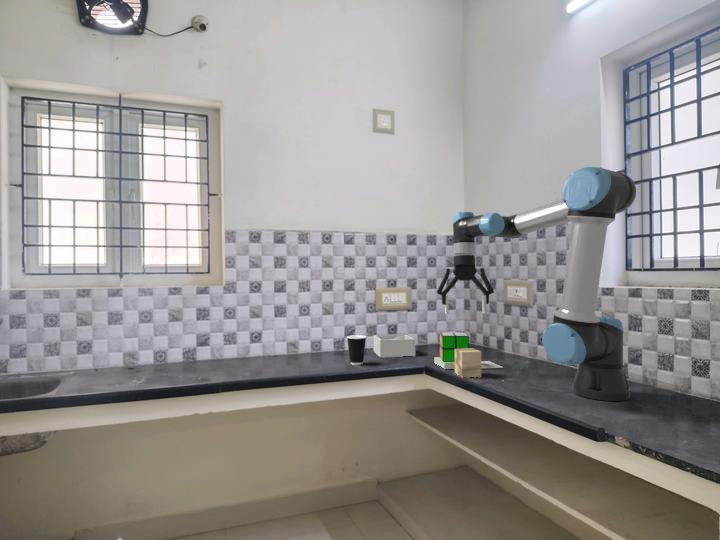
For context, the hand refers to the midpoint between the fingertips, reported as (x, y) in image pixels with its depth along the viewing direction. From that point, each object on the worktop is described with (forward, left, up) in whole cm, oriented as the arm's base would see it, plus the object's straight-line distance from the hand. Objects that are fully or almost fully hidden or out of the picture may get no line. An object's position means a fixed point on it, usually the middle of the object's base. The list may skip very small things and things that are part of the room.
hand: (465, 313), depth 159 cm
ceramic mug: (+41, +14, -22) cm, 49 cm away
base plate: (+13, 0, -22) cm, 25 cm away
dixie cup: (+23, +37, -22) cm, 48 cm away
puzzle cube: (+13, -1, -19) cm, 23 cm away
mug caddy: (+43, +17, -22) cm, 51 cm away
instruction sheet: (+13, -13, -22) cm, 29 cm away
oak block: (-3, +1, -22) cm, 22 cm away
